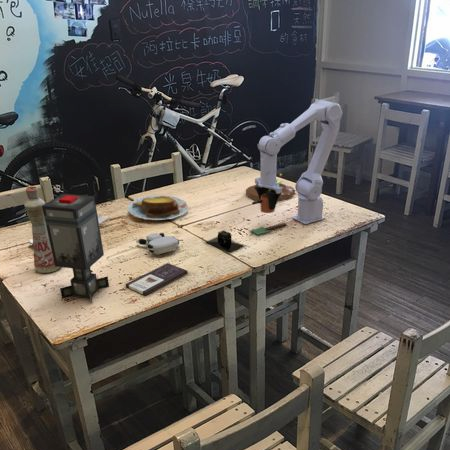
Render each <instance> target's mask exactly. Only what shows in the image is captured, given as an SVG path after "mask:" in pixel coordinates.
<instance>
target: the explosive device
mask: <svg viewBox="0 0 450 450" xmlns="http://www.w3.org/2000/svg"><path fill="white" fill-rule="evenodd" d="M42 209H43V213H44V218H45V222H46V227H47V231H48V236H49V240H50V245H51V250H52V254H53V259H54V263H55V266H57V267H61V268H64V269H65V268H66V269H72V274H73V277H71V279H70V280H69V281H70V285H67V286H64V287H59V292H60V296H61V299H62V300H64V299H67V298H71V297H79V298H85V299H89V300H90V302H91V303H92V304H94V303H93V298H92V297H93V295H95V293H97V292H98V291H99V290H103V289H106V288H109V287H110V282H109V276H107V275H106V276H104V277H99V278H97V274H96V273H92V269H91V267H92V266H93V265H95V264H96V263H97V262H98V261H99V260H101V258H102V257H104V255H105V253H104V246H103V239H102V234H101V228H100V224H99V221H98V219H99V218H98V216H99V214H98V210H97V204H96V197H95V196H93V195H82V194H71V193H61V194H59V195H58V196H56V197H54V198H53V199H51V200H49V201H47V202H45V205H43V206H42Z"/></svg>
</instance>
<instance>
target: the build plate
mask: <svg viewBox="0 0 450 450" xmlns="http://www.w3.org/2000/svg"><path fill="white" fill-rule="evenodd" d="M205 243H206V244H208V245H210V246H213V247H215V248H217V249H219V250H222V251H224V252H226V253H233V252H235V251H237V250H239V249H242V248H243V247H244V246H245V245H244V244H241V243H238V242H236V241H233V240H232V232H229V231H226V230H221V231H219V232H217V236H216V237H214V238H212V239H210V240H209V239H208V240H207V241H206V242H205Z"/></svg>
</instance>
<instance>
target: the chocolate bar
mask: <svg viewBox="0 0 450 450" xmlns="http://www.w3.org/2000/svg"><path fill="white" fill-rule="evenodd" d="M187 274H188V270H187V269H184V268H182V267H180V266H177V265H174V264H171V263H169V262H166V263H165V264H162V265H161V266H159V267H157V268H155V269H153V270H151V271H149V272H146V273H145V274H142V275H141V276H139V277H137V278H135V279H133V280H130V281H128V282H126V283H125V287H126V288H128V289H130V290H132V291H135V292H137V293H139V294H142V295H144V296H148V295H150V294H151V293H154V292H156V291H157V290H159V289H161V288H163V287H165V286H167V285H168V284H170V283H172V282H174V281H176V280H177V279H180V278H181V277H183V276H185V275H187Z"/></svg>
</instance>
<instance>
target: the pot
mask: <svg viewBox="0 0 450 450" xmlns="http://www.w3.org/2000/svg"><path fill="white" fill-rule="evenodd" d="M260 203H261V204H260ZM251 204H252V205H258V204H260V212H261V213H265V214H271V213H274V212H275V211H276V210H275V209H276V208H275V209H273V210H270V209H269V201H268V196H267V194H266V193H264V194H262V195H261V200H259V201H256V200H254V201H252V202H251Z"/></svg>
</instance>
